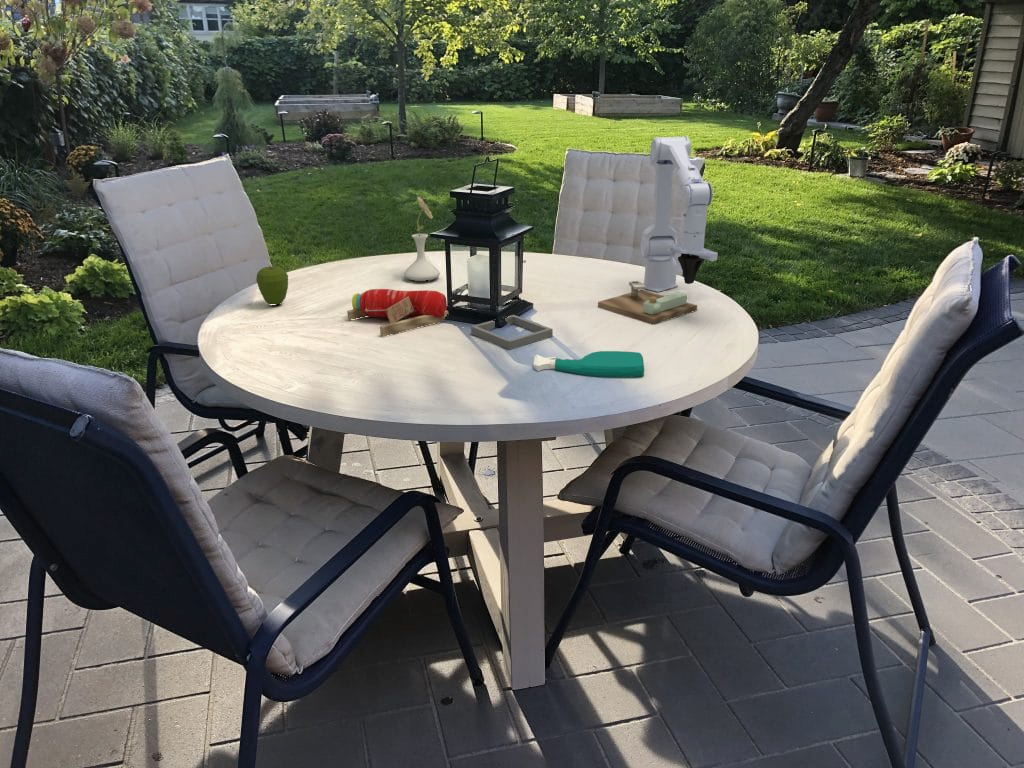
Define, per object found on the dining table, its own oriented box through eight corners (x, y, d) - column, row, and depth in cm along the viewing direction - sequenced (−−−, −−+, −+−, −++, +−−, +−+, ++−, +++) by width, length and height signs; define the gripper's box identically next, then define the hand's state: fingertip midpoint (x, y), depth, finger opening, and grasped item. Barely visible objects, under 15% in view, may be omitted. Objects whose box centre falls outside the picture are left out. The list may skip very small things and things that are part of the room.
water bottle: (436, 304, 195) (341, 300, 199) (439, 332, 199) (346, 328, 203) (447, 284, 205) (357, 280, 209) (449, 311, 209) (361, 307, 213)
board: (641, 294, 226) (642, 275, 223) (696, 310, 211) (698, 290, 209) (597, 307, 215) (598, 287, 213) (653, 324, 201) (655, 303, 199)
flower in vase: (438, 284, 237) (434, 201, 227) (401, 284, 237) (396, 201, 228) (442, 272, 249) (439, 194, 239) (407, 272, 249) (402, 194, 240)
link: (653, 315, 203) (653, 305, 202) (641, 311, 206) (642, 302, 205) (688, 304, 211) (688, 295, 210) (676, 300, 214) (677, 292, 213)
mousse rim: (513, 322, 203) (513, 314, 203) (552, 336, 193) (552, 329, 192) (471, 333, 195) (471, 326, 194) (509, 349, 185) (509, 341, 184)
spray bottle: (644, 380, 168) (531, 378, 171) (642, 362, 178) (535, 359, 181) (644, 368, 167) (531, 365, 169) (642, 350, 177) (535, 348, 179)
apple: (267, 311, 213) (262, 270, 208) (254, 305, 219) (248, 265, 214) (296, 305, 218) (292, 265, 214) (283, 298, 224) (278, 259, 219)
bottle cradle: (411, 304, 218) (410, 296, 217) (448, 320, 205) (448, 311, 204) (348, 319, 206) (347, 310, 205) (383, 337, 193) (382, 327, 192)
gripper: (661, 229, 200) (657, 280, 206) (707, 238, 190) (702, 291, 195) (678, 225, 204) (674, 275, 210) (724, 234, 194) (719, 286, 200)
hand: (689, 283), depth 203 cm, fingers closed
